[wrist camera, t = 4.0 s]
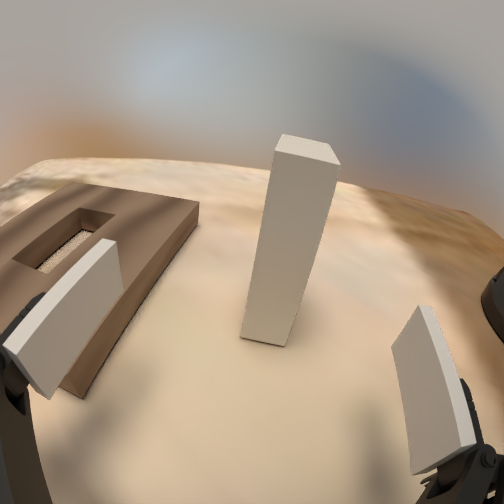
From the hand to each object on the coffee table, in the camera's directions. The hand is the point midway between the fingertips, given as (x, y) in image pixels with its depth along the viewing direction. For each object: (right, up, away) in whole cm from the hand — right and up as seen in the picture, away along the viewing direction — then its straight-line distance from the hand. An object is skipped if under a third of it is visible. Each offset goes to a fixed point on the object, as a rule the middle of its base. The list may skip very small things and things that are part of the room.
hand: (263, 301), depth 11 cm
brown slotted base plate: (-17, +1, +10) cm, 20 cm away
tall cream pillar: (+1, -2, +9) cm, 10 cm away
